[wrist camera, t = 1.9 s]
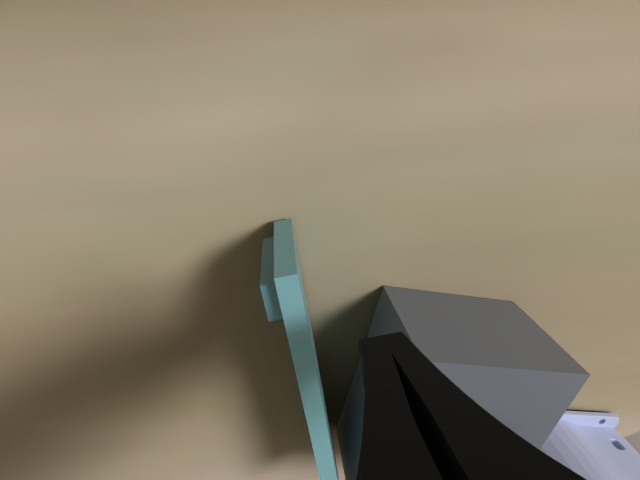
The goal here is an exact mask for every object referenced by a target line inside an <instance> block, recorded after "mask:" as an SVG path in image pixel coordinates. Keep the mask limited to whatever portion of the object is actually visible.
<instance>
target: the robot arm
mask: <svg viewBox="0 0 640 480" xmlns="http://www.w3.org/2000/svg"><path fill="white" fill-rule="evenodd" d="M359 351H360V359H361V368H362V376H363V385H364V389H365V400H364V417H363V431H362V441H361V449H360V457H359V464H358V471H357V476H356V480H640V455H639V454H638V453H637V452H636V450H634V448H633V447H632V446H631V445H630V444H629V443H628V442H627V441H626V440H625V439H624V438H623V437H622V436H621V435H620V434H619V433H618V432H617V431H616V430H615V429H614V428H615V426H616V425H617V424H618V423H619V418H618V417H617V416H616V415H615V414H614V413H600V412H582V411H565V413H564V414H563V416H562V417H561V419H560V420H559V422H558V423H557V425H556V426H555V427H554V429H553V430H552V432H551V433H550V435H549V436H548V438H547V439H546V441H545V442H544V444H543V445H542V447H541V448H540V450H539V449H538V448H536V447H535V446H533V445H532V444H531V443H529V442H528V441H526V440H525V439H523V438H522V437H521V436H519V435H518V434H516V433H515V432H514V431H512V430H511V429H510V428H508V427H507V426H505V425H504V424H503V423H501V422H500V421H499V420H497V419H496V418H495V417H494V416H492V415H491V414H490V413H489V412H487V411H486V410H485V409H484V408H482V407H481V406H480V405H479V404H477V403H476V402H475V401H474V400H473V399H471V398H470V397H469V396H468V395H467V394H466V393H464V392H463V391H462V390H461V389H460V388H459V387H458V386H456V385H455V384H454V383H453V382H452V381H451V380H450V379H449V378H448V377H447V376H446V375H445V374H443V373H442V372H441V371H440V370H439V369H438V368H437V367H436V366H435V365H434V364H433V363H432V362H431V361H430V360H429V359H428V358H427V357H426V356H425V355H424V354H423V353H422V352H421V351H420V350H419V349H418V348H417V347H416V346H415V345H414V344H413V342H412V341H411V340H410V339H409V338H408V337H407V336H406V335H405V334H404V333H403V332H396V333H391V334H385V335H380V336H375V337H370V338H365V339H362V340H361V341H360V342H359Z"/></svg>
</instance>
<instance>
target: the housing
mask: <svg viewBox="0 0 640 480" xmlns="http://www.w3.org/2000/svg"><path fill="white" fill-rule="evenodd" d="M396 332H403V333H404V334H405V335H406V336H407V337H408V338H409V339H410V340H411V341H412V342H413V344H414V345H415V346H416V347H417V348H418V349H419V350H420V351H421V352H422V353H423V354H424V355H425V356H426V357H427V358H428V359H429V360H430V361H431V362H432V363H433V364H434V365H435V366H436V367H437V368H438V369H439V370H440V371H441V372H442V373H443V374H445V375H446V376H447V377H448V378H449V379H450V380H451V381H452V382H453V383H454V384H455V385H456V386H458V387H459V388H460V389H461V390H462V391H463V392H464V393H466V394H467V395H468V396H469V397H470V398H471V399H473V400H474V401H475V402H476V403H477V404H479V405H480V406H481V407H482V408H484V409H485V410H486V411H487V412H489V413H490V414H491V415H492V416H494V417H495V418H496V419H497V420H499V421H500V422H501V423H503V424H504V425H505V426H507V427H508V428H510V429H511V430H512V431H514V432H515V433H516V434H518V435H519V436H521V437H522V438H523V439H525V440H526V441H528V442H529V443H531V444H532V445H533V446H535V447H536V448H538V449H539V450H540V448H541V447H542V445H543V444H544V442H545V441H546V439H547V438H548V436H549V435H550V433H551V432H552V430H553V429H554V427H555V426H556V425H557V423H558V422H559V420H560V419H561V417H562V416H563V414H564V413H565V411H566V410H567V408H568V407H569V405H570V404H571V402H572V401H573V399H574V398H575V397H576V395H577V394H578V392H579V391H580V389H581V388H582V386H583V385H584V383H585V382H586V380H587V379H588V377H589V376H590V374H589V373H588V372H587V371H586V370H585V369H584V368H582V367H581V366H580V365H579V364H578V363H577V362H576V361H575V360H574V359H573V358H572V357H571V356H570V355H569V354H568V353H567V352H566V351H565V350H564V349H563V348H561V347H560V346H559V345H558V344H557V343H556V342H555V341H554V340H553V339H552V338H551V337H550V336H549V335H548V334H547V333H546V332H545V331H544V330H543V329H542V328H540V327H539V326H538V325H537V324H536V323H535V322H534V321H533V320H532V319H531V318H530V317H529V316H528V315H527V314H526V313H525V312H524V311H523V310H522V309H521V308H520V307H518V306H517V305H516V304H515V303H514V302H510V301H502V300H494V299H486V298H478V297H470V296H462V295H454V294H446V293H438V292H429V291H421V290H413V289H405V288H397V287H389V286H383V288H382V291H381V294H380V297H379V300H378V303H377V306H376V309H375V312H374V316H373V319H372V322H371V325H370V328H369V331H368V334H367V337H366V338H370V337H375V336H380V335H385V334H391V333H396ZM364 400H365V389H364V385H363V376H362V368H361V359H360V358H359V361H358V364H357V367H356V370H355V373H354V376H353V379H352V382H351V385H350V389H349V392H348V395H347V398H346V401H345V404H344V407H343V410H342V413H341V416H340V419H339V422H338V425H337V434H338V440H339V445H340V451H341V456H342V462H343V468H344V473H345V479H346V480H356V476H357V471H358V464H359V457H360V449H361V441H362V431H363V417H364Z"/></svg>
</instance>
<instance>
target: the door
mask: <svg viewBox="0 0 640 480" xmlns="http://www.w3.org/2000/svg"><path fill="white" fill-rule="evenodd" d="M260 289H261V293H262V297H263V301H264V305H265V309H266V313H267V317H268V321H269V322H272V321H277V320H284V325H285V329H286V334H287V338H288V342H289V347H290V351H291V355H292V360H293V364H294V368H295V373H296V377H297V381H298V386H299V390H300V395H301V399H302V403H303V408H304V412H305V416H306V421H307V425H308V429H309V434H310V438H311V443H312V447H313V451H314V456H315V460H316V464H317V469H318V473H319V477H320V480H339V478H338V472H337V466H336V459H335V453H334V447H333V441H332V435H331V429H330V424H329V418H328V413H327V408H326V402H325V397H324V392H323V386H322V381H321V376H320V370H319V365H318V360H317V355H316V349H315V344H314V339H313V333H312V328H311V323H310V317H309V312H308V307H307V301H306V296H305V291H304V286H303V280H302V275H301V270H300V264H299V259H298V254H297V248H296V243H295V238H294V232H293V227H292V222H291V219H287V220H281V221H276V222H274V236H273V237H268V238H263V242H262V257H261V273H260Z"/></svg>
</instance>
